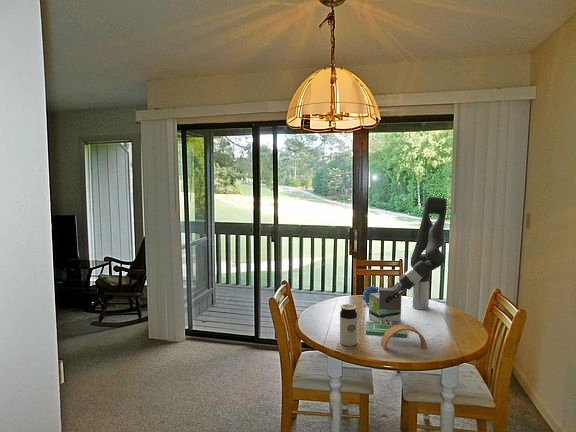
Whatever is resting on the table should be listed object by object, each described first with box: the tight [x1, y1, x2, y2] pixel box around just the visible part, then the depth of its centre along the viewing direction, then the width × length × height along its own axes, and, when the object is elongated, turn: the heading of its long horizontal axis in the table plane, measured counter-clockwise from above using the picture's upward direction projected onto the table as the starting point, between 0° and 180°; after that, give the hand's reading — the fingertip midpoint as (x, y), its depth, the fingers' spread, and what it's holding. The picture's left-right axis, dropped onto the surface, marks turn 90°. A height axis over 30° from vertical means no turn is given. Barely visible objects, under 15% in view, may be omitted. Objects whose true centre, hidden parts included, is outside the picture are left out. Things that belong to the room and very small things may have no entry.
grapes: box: [362, 284, 380, 305], centre depth 243 cm, size 12×7×12 cm, turn 104°
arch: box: [380, 323, 428, 351], centre depth 177 cm, size 6×20×10 cm, turn 91°
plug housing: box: [378, 287, 402, 311], centre depth 196 cm, size 5×10×10 cm, turn 78°
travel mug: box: [339, 303, 358, 347], centre depth 182 cm, size 8×8×18 cm
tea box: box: [368, 293, 402, 323], centre depth 213 cm, size 15×10×15 cm, turn 114°
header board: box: [365, 321, 408, 338], centre depth 198 cm, size 14×20×4 cm
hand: (385, 300), depth 196 cm, fingers closed on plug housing, 5 cm apart
